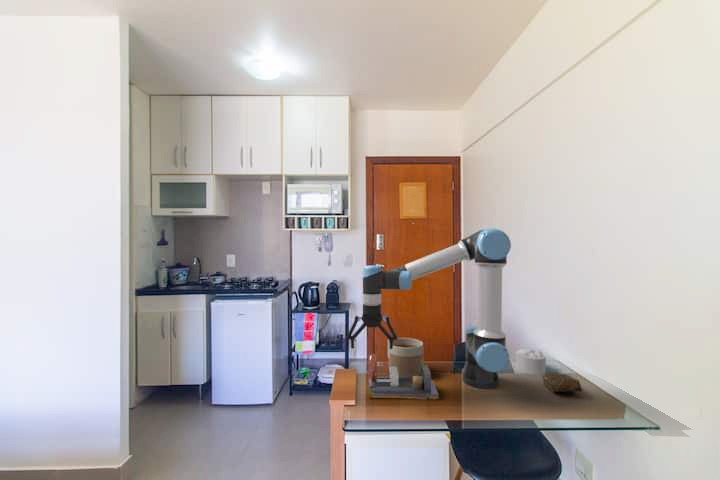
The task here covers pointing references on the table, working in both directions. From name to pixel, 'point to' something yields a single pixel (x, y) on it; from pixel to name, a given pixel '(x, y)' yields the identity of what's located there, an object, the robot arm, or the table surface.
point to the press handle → (381, 382)
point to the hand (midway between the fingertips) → (371, 356)
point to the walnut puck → (417, 382)
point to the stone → (561, 382)
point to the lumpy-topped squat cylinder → (531, 361)
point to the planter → (407, 357)
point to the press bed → (408, 387)
